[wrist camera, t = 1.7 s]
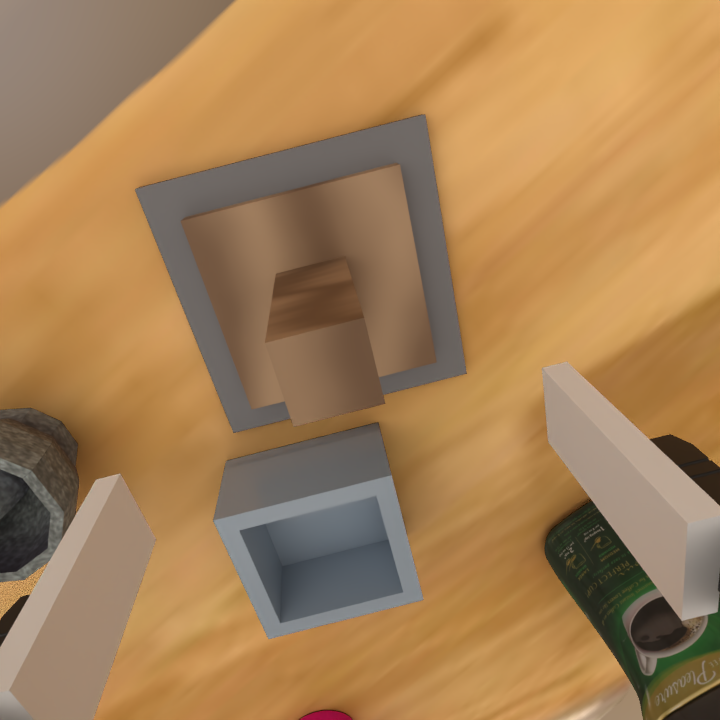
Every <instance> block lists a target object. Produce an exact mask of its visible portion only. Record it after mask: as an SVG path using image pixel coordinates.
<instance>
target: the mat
mask: <svg viewBox="0 0 720 720" xmlns="http://www.w3.org/2000/svg"><path fill="white" fill-rule="evenodd" d="M393 163H398V164H400V167H401V173H402V178H403V183H404V189H405V194H406V200H407V205H408V210H409V216H410V221H411V226H412V232H413V237H414V243H415V248H416V253H417V259H418V264H419V269H420V275H421V280H422V286H423V291H424V296H425V302H426V307H427V312H428V318H429V323H430V329H431V334H432V339H433V345H434V350H435V355H436V361H437V362H436V363H433V364H429V365H425V366H421V367H417V368H413V369H409V370H405V371H401V372H397V373H393V374H389V375H386V376H382V377H379V380H380V384H381V388H382V392H383V395H384V394H388V393H392V392H396V391H400V390H404V389H408V388H412V387H416V386H420V385H424V384H428V383H431V382H435V381H439V380H443V379H447V378H451V377H455V376H459V375H463V374H467V373H466V366H465V360H464V354H463V348H462V341H461V335H460V329H459V323H458V316H457V310H456V304H455V298H454V291H453V285H452V279H451V272H450V266H449V260H448V254H447V247H446V241H445V235H444V229H443V222H442V216H441V210H440V204H439V197H438V191H437V185H436V178H435V172H434V166H433V160H432V153H431V147H430V141H429V135H428V128H427V122H426V116H425V115H418V116H415V117H411V118H407V119H403V120H399V121H395V122H391V123H387V124H384V125H380V126H376V127H372V128H368V129H364V130H360V131H356V132H353V133H349V134H345V135H341V136H337V137H333V138H329V139H325V140H322V141H318V142H314V143H310V144H306V145H302V146H298V147H294V148H291V149H287V150H283V151H279V152H275V153H271V154H267V155H263V156H259V157H256V158H252V159H248V160H244V161H240V162H236V163H232V164H228V165H225V166H221V167H217V168H213V169H209V170H205V171H201V172H197V173H194V174H190V175H186V176H182V177H178V178H174V179H170V180H166V181H163V182H159V183H155V184H151V185H147V186H143V187H139V188H137V189H135V191H136V193H137V196H138V198H139V201H140V203H141V206H142V208H143V211H144V213H145V216H146V218H147V221H148V223H149V225H150V228H151V230H152V233H153V235H154V238H155V240H156V243H157V245H158V248H159V250H160V253H161V255H162V258H163V260H164V262H165V265H166V267H167V270H168V272H169V275H170V277H171V280H172V282H173V285H174V287H175V290H176V292H177V295H178V297H179V299H180V302H181V304H182V307H183V309H184V312H185V314H186V317H187V319H188V322H189V324H190V327H191V329H192V332H193V334H194V336H195V339H196V341H197V344H198V346H199V349H200V351H201V354H202V356H203V359H204V361H205V364H206V366H207V369H208V371H209V373H210V376H211V378H212V381H213V383H214V386H215V388H216V391H217V393H218V396H219V398H220V401H221V403H222V406H223V408H224V410H225V413H226V415H227V418H228V420H229V423H230V425H231V428H232V430H233V433H236V432H239V431H243V430H247V429H251V428H255V427H259V426H263V425H267V424H271V423H275V422H279V421H283V420H286V419H290V415H289V412H288V409H287V406H286V403H285V401H284V402H280V403H276V404H272V405H268V406H264V407H260V408H256V409H251V406H250V404H249V401H248V398H247V396H246V393H245V391H244V388H243V385H242V383H241V380H240V377H239V375H238V372H237V369H236V367H235V364H234V361H233V359H232V356H231V354H230V351H229V348H228V346H227V343H226V340H225V338H224V335H223V332H222V330H221V327H220V324H219V322H218V319H217V316H216V314H215V311H214V309H213V306H212V303H211V301H210V298H209V295H208V293H207V290H206V287H205V285H204V282H203V279H202V277H201V274H200V272H199V269H198V266H197V264H196V261H195V258H194V256H193V253H192V250H191V248H190V245H189V242H188V240H187V237H186V235H185V232H184V229H183V227H182V224H181V220H182V219H183V218H185V217H188V216H191V215H195V214H199V213H203V212H207V211H211V210H215V209H219V208H223V207H226V206H230V205H234V204H238V203H242V202H246V201H250V200H254V199H258V198H261V197H265V196H269V195H273V194H277V193H281V192H285V191H289V190H292V189H296V188H300V187H304V186H308V185H312V184H316V183H320V182H324V181H327V180H331V179H335V178H339V177H343V176H347V175H351V174H355V173H358V172H362V171H366V170H370V169H374V168H378V167H382V166H386V165H390V164H393Z"/></svg>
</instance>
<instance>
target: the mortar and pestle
mask: <svg viewBox="0 0 720 720" xmlns="http://www.w3.org/2000/svg"><path fill="white" fill-rule="evenodd" d="M77 448H78V444H77V443H76V441H75V440H74V438H73V437H72V436H71V434H70V433H69V431H68V430H67V429H66V427H65V426H64V424H63V423H62V422H61V421H59V420H57V419H55V418H53V417H50V416H48V415H46V414H44V413H41V412H39V411H37V410H35V409H32V408H23V409H8V410H0V582H6V581H17V580H25V579H26V578H27V577H29V576H30V575H31V574H33V573H34V572H35V571H37V570H38V569H39V568H41V567H42V566H43V565H45V564H46V563H47V562H49V561H50V559H51V558H52V556H53V554H54V552H55V551H56V549H57V547H58V545H59V544H60V542H61V540H62V538H63V537H64V535H65V533H66V531H67V530H68V528H69V526H70V524H71V523H72V521H73V519H74V517H75V514H76V505H77V496H78V487H79V478H78V474H77V470H76V467H75V466H76V457H77Z"/></svg>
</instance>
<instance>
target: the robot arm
mask: <svg viewBox="0 0 720 720" xmlns="http://www.w3.org/2000/svg"><path fill="white" fill-rule="evenodd" d="M542 374H543V386H544V397H545V409H546V421H547V432H548V442H549V443H550V445H551V446H552V447H553V449H554V450H555V451H556V453H557V454H558V456H559V457H560V458H561V460H562V461H563V462H564V464H565V465H566V466H567V468H568V469H569V470H570V472H571V473H572V474H573V476H574V477H575V478H576V480H577V481H578V482H579V484H580V485H581V486H582V488H583V489H584V490H585V492H586V493H587V494H588V496H589V497H590V498H591V500H592V501H593V503H594V504H595V505H596V507H597V508H598V509H599V511H600V512H601V513H602V515H603V516H604V517H605V519H606V520H607V521H608V523H609V524H610V525H611V527H612V528H613V529H614V531H615V532H616V533H617V535H618V536H619V537H620V539H621V540H622V541H623V543H624V544H625V545H626V547H627V548H628V550H629V551H630V552H631V554H632V555H633V556H634V558H635V559H636V560H637V562H638V563H639V564H640V566H641V567H642V568H643V570H644V571H645V572H646V574H647V575H648V576H649V578H650V579H651V580H652V582H653V583H654V584H655V586H656V587H657V588H658V590H659V591H660V592H661V594H662V595H663V597H664V598H665V599H666V601H667V602H668V603H669V605H670V606H671V607H672V609H673V610H674V611H675V613H676V614H677V615H678V617H679V618H680V619H681V621H683V620H687V619H692V618H696V617H700V616H704V615H708V614H712V613H716V612H718V603H719V594H720V467H718V466H717V465H716V464H715V463H714V462H713V461H709V459H708V457H707V456H706V455H704V454H703V453H702V452H701V451H700V450H698V449H697V448H696V447H695V446H694V445H693V444H691V443H688V442H686V441H684V440H682V439H679V438H677V437H675V436H673V435H666V436H662V437H658V438H654V439H648V438H647V437H646V436H645V435H644V434H643V433H642V432H641V431H640V430H639V429H638V428H637V427H636V426H635V425H633V424H632V423H631V422H630V421H629V420H628V419H627V418H626V417H625V416H624V415H623V414H622V413H621V412H620V411H619V410H618V409H616V408H615V407H614V406H613V405H612V404H611V403H610V402H609V401H608V400H607V399H606V398H605V397H604V396H603V395H602V394H601V393H600V392H598V391H597V390H596V389H595V388H594V387H593V386H592V385H591V384H590V383H589V382H588V381H587V380H586V379H585V378H584V377H583V376H581V375H580V374H579V373H578V372H577V371H576V370H575V369H574V368H573V367H572V366H571V365H570V364H569V363H568V362H564V363H560V364H556V365H552V366H548V367H544V368H542ZM155 541H156V538H155V536H154V534H153V533H152V531H151V529H150V527H149V525H148V523H147V522H146V520H145V518H144V516H143V514H142V512H141V510H140V509H139V507H138V505H137V503H136V501H135V499H134V498H133V496H132V494H131V492H130V490H129V488H128V487H127V485H126V483H125V481H124V479H123V477H122V475H121V474H116V475H112V476H108V477H105V478H101V479H97V480H96V481H95V482H94V484H93V486H92V488H91V489H90V491H89V493H88V495H87V496H86V498H85V500H84V502H83V503H82V505H81V507H80V509H79V510H78V512H77V514H76V516H75V517H74V519H73V521H72V523H71V524H70V526H69V528H68V530H67V531H66V533H65V535H64V537H63V538H62V540H61V542H60V544H59V545H58V547H57V549H56V551H55V552H54V554H53V556H52V558H51V559H50V561H49V563H48V565H47V566H46V568H45V570H44V572H43V573H42V575H41V577H40V579H39V580H38V582H37V584H36V586H35V587H34V589H33V591H32V593H31V594H30V595H26V596H22V597H20V598H19V600H18V601H17V602H16V603H15V604H14V605H13V606H12V607H11V608H10V609H9V610H8V611H7V612H6V613H5V614H4V615H3V617H2V618H1V620H0V720H93V719H94V716H95V713H96V710H97V707H98V704H99V702H100V699H101V696H102V693H103V690H104V687H105V684H106V682H107V679H108V676H109V673H110V670H111V667H112V664H113V662H114V659H115V656H116V653H117V650H118V647H119V644H120V642H121V639H122V636H123V633H124V630H125V627H126V624H127V622H128V619H129V616H130V613H131V610H132V607H133V604H134V601H135V599H136V596H137V593H138V590H139V587H140V584H141V581H142V579H143V576H144V573H145V570H146V567H147V564H148V561H149V559H150V556H151V553H152V550H153V547H154V544H155Z"/></svg>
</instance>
